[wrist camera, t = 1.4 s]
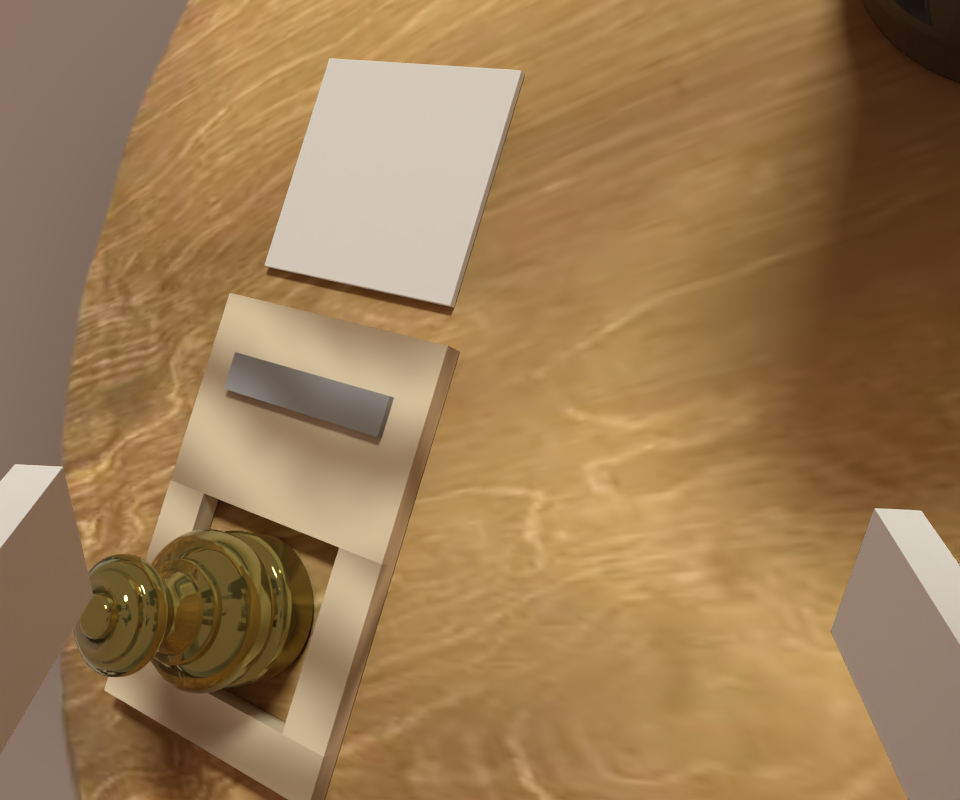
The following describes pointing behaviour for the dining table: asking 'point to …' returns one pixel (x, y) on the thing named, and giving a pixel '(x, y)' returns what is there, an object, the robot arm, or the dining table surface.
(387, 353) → the light wooden flat frame
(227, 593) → the brass bell weight
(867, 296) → the dining table surface
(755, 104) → the dining table surface
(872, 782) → the dining table surface
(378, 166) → the mat
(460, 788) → the dining table surface
